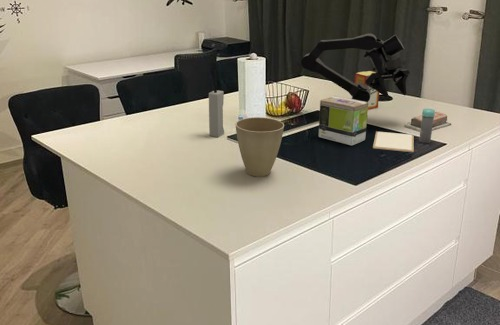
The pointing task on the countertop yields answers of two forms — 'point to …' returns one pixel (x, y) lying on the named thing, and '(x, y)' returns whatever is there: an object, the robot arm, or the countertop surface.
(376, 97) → the baking soda box
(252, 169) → the plant pot
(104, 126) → the countertop surface
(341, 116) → the tea box
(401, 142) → the notepad
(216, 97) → the vintage mobile phone
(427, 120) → the gray bottle teal cap
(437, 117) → the packaged product
